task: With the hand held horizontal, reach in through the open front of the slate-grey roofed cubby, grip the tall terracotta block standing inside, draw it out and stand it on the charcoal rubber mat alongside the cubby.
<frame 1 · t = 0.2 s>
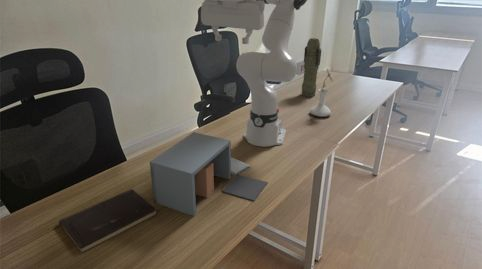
hand: (231, 42, 104), 48 cm above the table, tool pointing down, fingers open, 8 cm apart
mat: (245, 187, 115), on the table
flower in vase: (320, 114, 180), on the table
hard drive: (231, 167, 128), on the table
hardcover book: (110, 221, 99), on the table
block: (204, 192, 111), on the table
thermos: (308, 95, 211), on the table
cubby: (194, 189, 113), on the table
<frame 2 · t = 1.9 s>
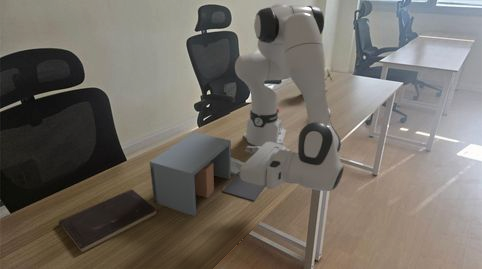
hand: (239, 155, 99), 18 cm above the table, tool horizontal, fingers open, 8 cm apart
nothing on the table moved.
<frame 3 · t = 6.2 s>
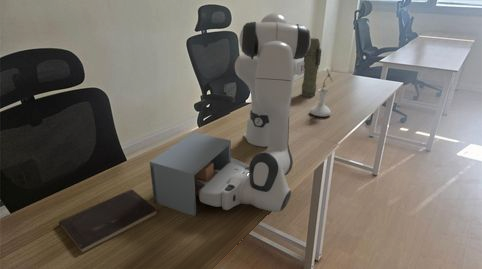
hand: (202, 176, 109), 6 cm above the table, tool horizontal, fingers closed on block, 4 cm apart
block: (204, 192, 111), on the table, touching gripper
everything else where it was.
when the fingers open (7 cm above the table, at t = 12.2 s): block drops 1 cm, resting on mat.
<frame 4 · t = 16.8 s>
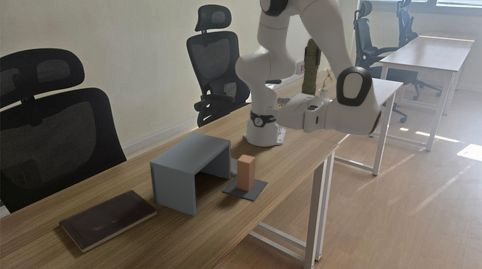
hand: (272, 104, 98), 32 cm above the table, tool horizontal, fingers open, 8 cm apart
block: (245, 186, 115), resting on mat
everything else where it was.
at the end: block inside the target area on the mat (0.1 cm from its centre), point 0.4 cm above the mat's base; block tilted 0°; the gripper is holding nothing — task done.
